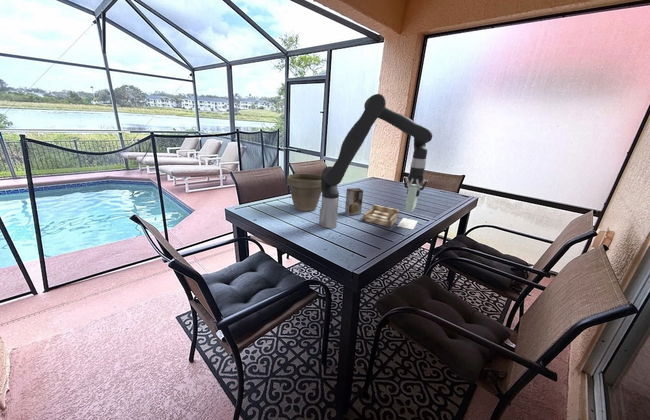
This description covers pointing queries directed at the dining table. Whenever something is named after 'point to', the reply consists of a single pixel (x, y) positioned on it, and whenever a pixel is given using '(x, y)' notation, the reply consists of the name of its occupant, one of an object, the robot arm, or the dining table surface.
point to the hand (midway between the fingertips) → (412, 195)
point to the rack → (392, 215)
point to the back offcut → (381, 214)
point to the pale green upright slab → (411, 198)
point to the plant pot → (305, 190)
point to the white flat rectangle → (407, 223)
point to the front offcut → (379, 216)
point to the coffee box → (354, 201)
